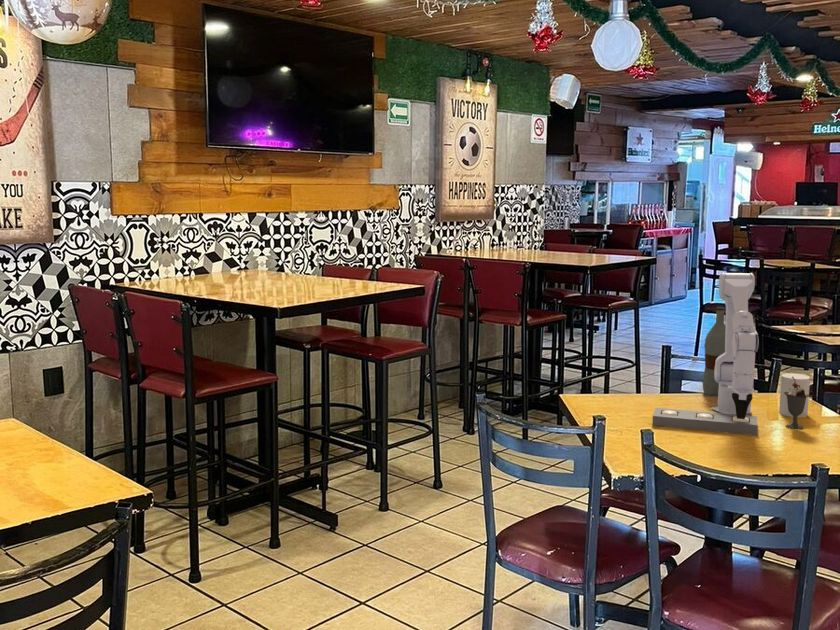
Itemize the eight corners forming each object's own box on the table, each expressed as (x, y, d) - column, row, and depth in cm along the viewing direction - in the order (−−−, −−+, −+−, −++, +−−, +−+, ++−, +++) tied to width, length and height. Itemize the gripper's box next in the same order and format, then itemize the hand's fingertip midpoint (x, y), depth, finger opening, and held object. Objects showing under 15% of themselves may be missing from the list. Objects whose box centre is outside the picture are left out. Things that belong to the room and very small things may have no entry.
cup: (794, 409, 266) (796, 372, 264) (813, 415, 258) (816, 378, 257) (773, 411, 264) (775, 374, 262) (792, 418, 256) (794, 380, 254)
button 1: (662, 419, 254) (662, 409, 253) (677, 420, 252) (677, 411, 252) (661, 423, 250) (661, 413, 249) (676, 424, 248) (676, 414, 248)
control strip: (655, 417, 257) (655, 407, 257) (756, 426, 247) (756, 416, 247) (652, 425, 248) (652, 415, 247) (757, 435, 238) (757, 425, 237)
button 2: (732, 425, 247) (732, 415, 246) (748, 426, 245) (748, 417, 245) (732, 429, 243) (732, 419, 242) (748, 430, 241) (749, 420, 241)
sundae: (784, 422, 251) (788, 374, 248) (808, 426, 247) (812, 377, 245) (779, 428, 245) (783, 378, 243) (804, 431, 241) (807, 381, 239)
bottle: (735, 396, 283) (740, 308, 278) (710, 397, 281) (715, 309, 277) (721, 389, 292) (725, 305, 288) (696, 390, 291) (701, 305, 286)
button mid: (696, 422, 250) (697, 413, 250) (712, 424, 249) (712, 414, 248) (696, 426, 246) (696, 416, 246) (711, 428, 245) (712, 418, 244)
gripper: (728, 367, 250) (726, 410, 252) (728, 377, 236) (726, 423, 238) (754, 368, 247) (751, 413, 249) (755, 379, 234) (752, 425, 236)
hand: (740, 418), depth 243 cm, fingers closed, pressing on button 2
